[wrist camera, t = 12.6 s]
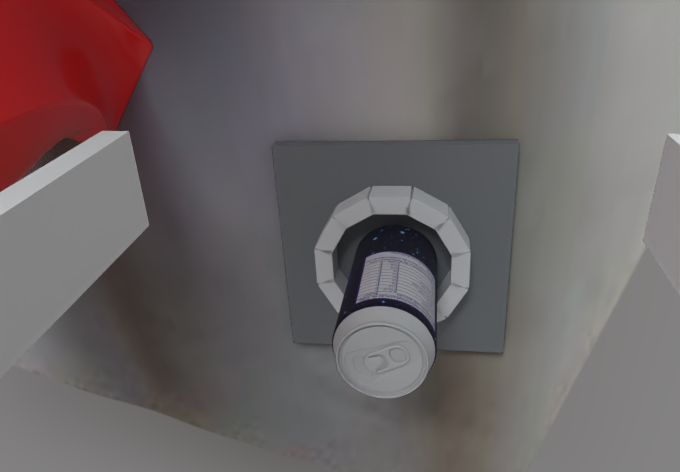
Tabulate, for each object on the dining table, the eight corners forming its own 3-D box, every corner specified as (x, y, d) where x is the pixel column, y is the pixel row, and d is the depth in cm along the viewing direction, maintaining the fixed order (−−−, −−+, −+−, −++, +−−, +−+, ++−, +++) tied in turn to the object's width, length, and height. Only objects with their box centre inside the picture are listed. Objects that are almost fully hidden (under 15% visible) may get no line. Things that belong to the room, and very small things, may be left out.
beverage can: (342, 238, 41) (308, 339, 30) (414, 206, 39) (405, 301, 28) (379, 300, 43) (360, 416, 32) (450, 272, 41) (455, 386, 30)
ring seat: (296, 335, 47) (287, 358, 44) (275, 141, 40) (263, 155, 37) (501, 344, 44) (505, 370, 41) (517, 139, 37) (523, 153, 34)
